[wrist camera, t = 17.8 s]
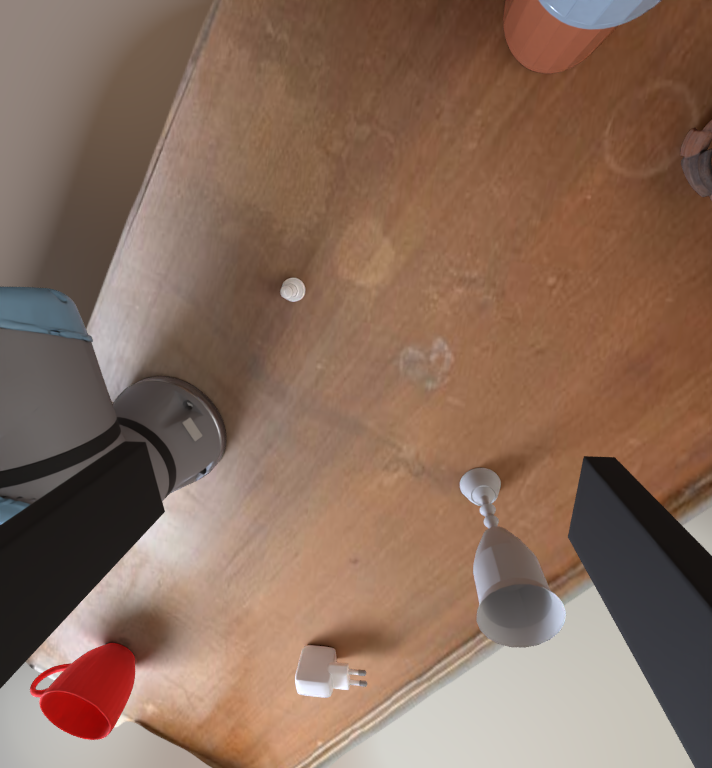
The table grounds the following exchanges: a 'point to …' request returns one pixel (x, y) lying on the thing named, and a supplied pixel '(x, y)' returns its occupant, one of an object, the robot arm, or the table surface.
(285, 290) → the chess pawn
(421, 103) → the table surface
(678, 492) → the table surface
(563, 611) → the chalice
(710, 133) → the pottery mug
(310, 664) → the power adapter
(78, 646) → the table surface
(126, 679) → the ceramic cup
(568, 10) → the light blue round container
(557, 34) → the mug
